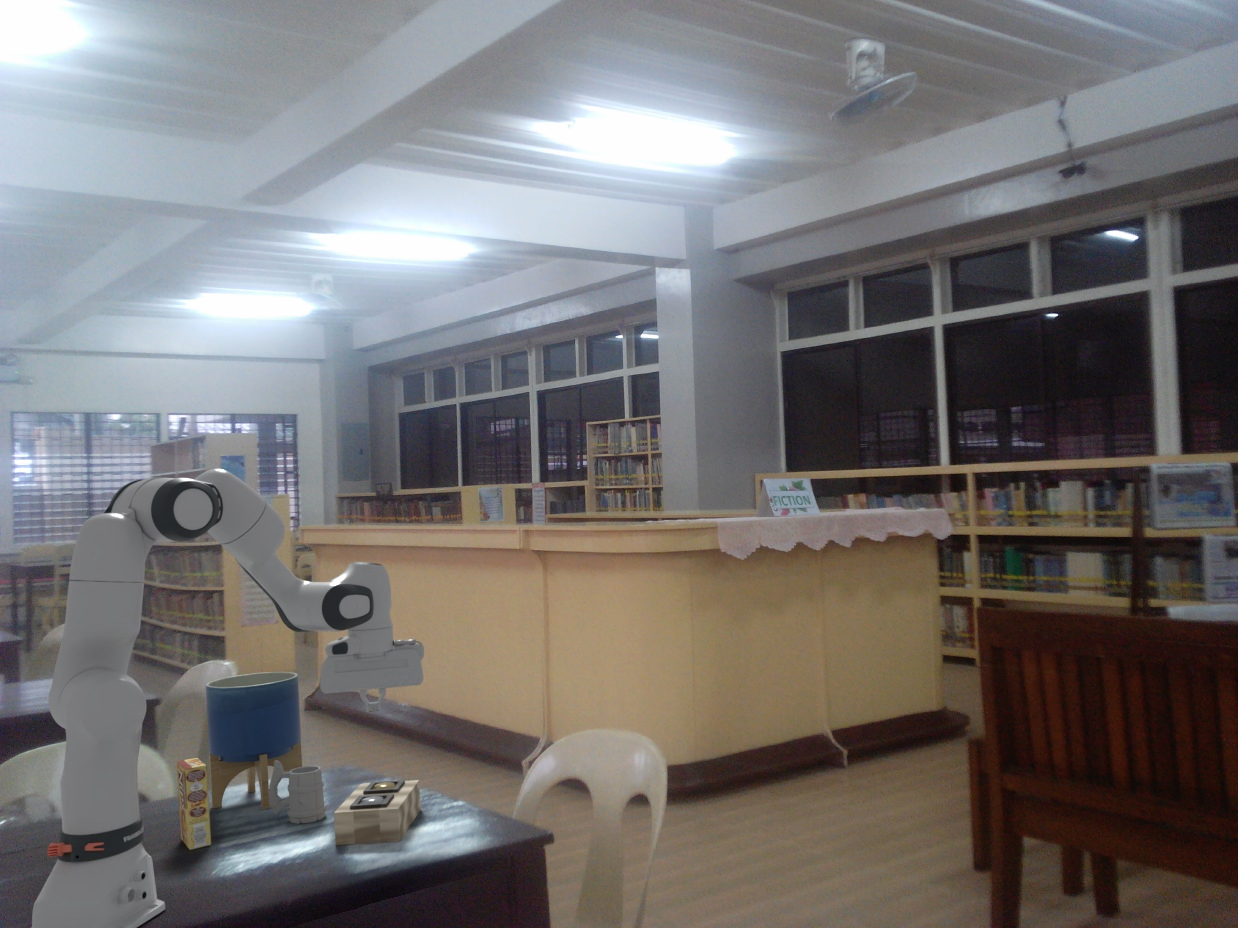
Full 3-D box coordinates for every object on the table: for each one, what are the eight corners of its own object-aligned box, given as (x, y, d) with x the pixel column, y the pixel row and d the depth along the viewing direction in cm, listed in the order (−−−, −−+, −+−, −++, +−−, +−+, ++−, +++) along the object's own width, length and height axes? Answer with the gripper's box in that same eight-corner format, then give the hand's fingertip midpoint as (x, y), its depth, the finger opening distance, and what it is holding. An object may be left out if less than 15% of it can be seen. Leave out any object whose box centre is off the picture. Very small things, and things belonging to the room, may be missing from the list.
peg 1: (382, 836, 197) (380, 801, 198) (361, 837, 197) (359, 802, 198) (387, 829, 201) (385, 795, 202) (366, 830, 201) (364, 796, 202)
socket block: (399, 841, 194) (397, 805, 194) (335, 844, 194) (333, 809, 195) (420, 809, 214) (419, 776, 214) (362, 812, 214) (360, 780, 215)
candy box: (212, 845, 199) (208, 764, 199) (188, 850, 196) (184, 768, 197) (202, 834, 206) (198, 756, 207) (179, 839, 204) (175, 760, 204)
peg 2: (393, 819, 207) (392, 786, 208) (373, 821, 207) (371, 788, 208) (398, 813, 211) (396, 781, 212) (378, 815, 211) (376, 782, 212)
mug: (318, 823, 209) (315, 762, 209) (261, 825, 210) (258, 765, 210) (332, 811, 217) (329, 753, 217) (277, 813, 218) (274, 755, 218)
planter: (218, 818, 217) (212, 690, 218) (206, 798, 234) (200, 680, 235) (312, 800, 227) (306, 678, 228) (294, 782, 243) (288, 668, 244)
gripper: (422, 636, 215) (425, 704, 215) (319, 644, 211) (322, 713, 210) (423, 639, 209) (426, 709, 209) (317, 648, 205) (320, 719, 204)
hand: (373, 711), depth 209 cm, fingers closed
